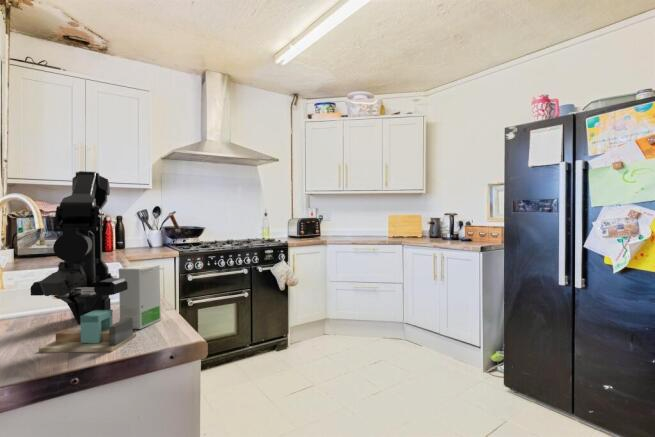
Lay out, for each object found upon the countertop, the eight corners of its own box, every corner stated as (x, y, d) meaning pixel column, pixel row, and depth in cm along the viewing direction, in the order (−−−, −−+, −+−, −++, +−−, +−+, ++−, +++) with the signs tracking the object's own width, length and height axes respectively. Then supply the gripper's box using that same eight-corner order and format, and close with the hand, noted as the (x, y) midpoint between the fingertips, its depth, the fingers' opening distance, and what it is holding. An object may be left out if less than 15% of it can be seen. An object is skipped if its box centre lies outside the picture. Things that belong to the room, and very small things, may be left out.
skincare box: (139, 330, 87) (138, 269, 86) (117, 328, 88) (116, 268, 88) (162, 319, 95) (161, 264, 94) (141, 318, 96) (140, 263, 96)
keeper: (81, 342, 76) (80, 316, 75) (96, 335, 80) (95, 309, 80) (98, 342, 75) (98, 316, 75) (112, 335, 80) (112, 309, 80)
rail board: (38, 351, 74) (38, 328, 73) (70, 336, 83) (70, 316, 82) (111, 351, 73) (111, 328, 73) (136, 336, 82) (135, 315, 82)
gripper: (5, 261, 70) (7, 337, 70) (95, 260, 69) (96, 337, 70) (50, 254, 81) (52, 319, 81) (128, 254, 80) (129, 319, 81)
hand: (81, 324), depth 78 cm, fingers closed
